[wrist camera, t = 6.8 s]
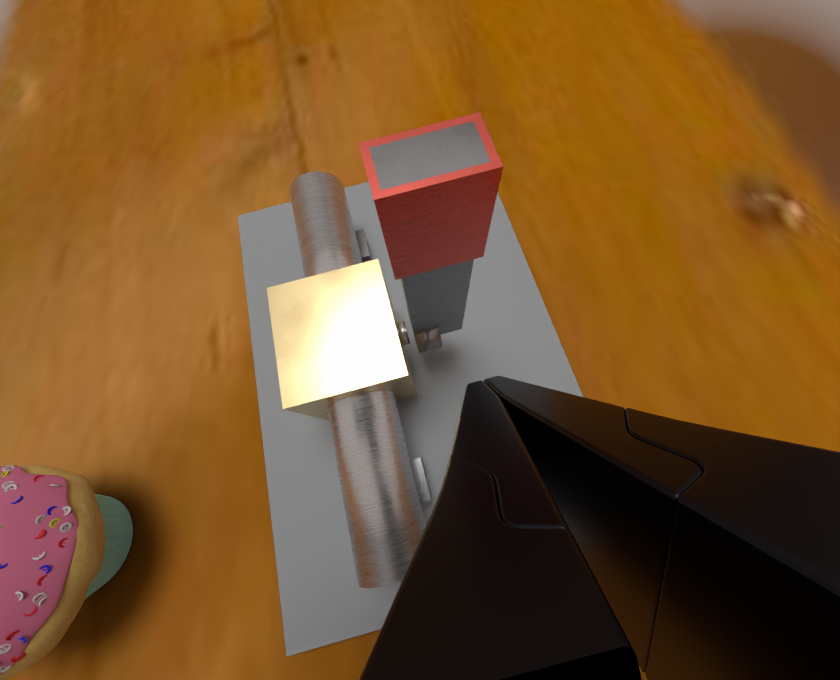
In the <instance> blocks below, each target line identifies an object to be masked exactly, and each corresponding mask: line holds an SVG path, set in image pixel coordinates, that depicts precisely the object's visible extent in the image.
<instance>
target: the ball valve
mask: <svg viewBox="0 0 840 680" xmlns="http://www.w3.org/2000/svg"><path fill="white" fill-rule="evenodd" d="M290 198H291V204H292V209H293V215H294V221H295V227H296V232H297V238H298V244H299V250H300V255H301V261H302V267H303V272H304V278H303V279H299V280H295V281H291V282H287V283H284V284H280V285H276V286H272V287H268V288H267V294H268V302H269V309H270V317H271V324H272V332H273V339H274V347H275V354H276V362H277V369H278V377H279V384H280V392H281V399H282V407H283V409H284V410H288V411H292V412H296V413H300V414H304V415H308V416H312V417H315V418H319V419H323V420H329V421H330V427H331V433H332V439H333V444H334V450H335V456H336V462H337V467H338V473H339V479H340V484H341V490H342V496H343V502H344V507H345V513H346V519H347V525H348V530H349V536H350V542H351V547H352V553H353V559H354V565H355V570H356V576H357V582H358V586H359V587H361V588H378V587H383V586H387V585H391V584H394V583H397V582H400V581H402V579H403V577H404V575H405V573H406V570H407V568H408V566H409V563H410V561H411V559H412V556H413V554H414V552H415V549H416V547H417V545H418V542H419V540H420V538H421V535H422V533H423V531H424V529H425V521H424V517H423V513H422V509H421V505H420V503H423V502H426V501H430V500H431V498H432V494H431V490H430V486H429V482H428V478H427V474H426V470H425V467H424V463H423V459H422V457H419V458H416V459H412V460H410V459H409V455H408V451H407V446H406V442H405V438H404V434H403V430H402V426H401V421H400V417H399V413H398V409H397V405H396V401H400V400H404V399H407V398H411V397H415V396H417V393H416V389H415V385H414V381H413V377H412V374H411V370H410V366H409V362H408V358H407V355H406V351H405V347H404V345H407V344H410V340H409V336H408V333H407V329H406V325H405V322H404V321H402V322H398V320H397V316H396V312H395V309H394V305H393V302H392V299H391V296H390V293H389V290H388V287H387V284H386V281H385V278H384V275H383V272H382V269H381V266H380V263H379V260H378V259H375V260H372V256H371V252H370V248H369V244H368V241H367V238H366V235H365V233H364V230H363V229H360V230H356V231H355V230H354V226H353V222H352V217H351V213H350V209H349V205H348V201H347V197H346V192H345V188H344V186H343V184H342V182H341V181H340V180H339V179H338V178H337V177H335V176H333V175H331V174H329V173H325V172H309V173H306V174H303V175H301V176H299V177H298V178H297V179H295V180H294V182H293V183H292V185H291V187H290Z"/></svg>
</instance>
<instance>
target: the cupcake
mask: <svg viewBox="0 0 840 680" xmlns="http://www.w3.org/2000/svg"><path fill="white" fill-rule="evenodd" d="M132 537H133V524H132V519H131V516H130V513H129V511H128V510H127V508H126V507H125V506H124V504H123V503H121V502H120V501H119V500H117V499H115V498H113V497H110V496H105V495H100V494H95V493H94V492H93V489H92V486H91V484H90V482H89V481H88V479H86V478H85V477H83V476H81V475H78V474H74V473H71V472H67V471H65V470H62V469H58V468H54V467H48V466H40V465H25V466H16V465H8V466H3V467H0V680H5V679H8V678H10V677H13V676H15V675H17V674H19V673H21V672H23V671H24V670H26V669H28V668H30V667H31V666H33V665H34V664H36V663H37V662H39V661H40V660H42V659H43V658H44V657H45V656H46V655H47V654H48V653H49V652H50V651H51V650H52V649H53V648H54V647H55V646H56V645H57V644H58V643H59V642H60V640H61V639H62V638H63V636H64V635H65V633H66V631H67V630H68V628H69V626H70V624H71V623H72V621H73V620H74V618H75V617H76V615H77V614H78V612H79V610H80V609H81V607H82V605H83V602H84V600H85V599H86V598H87V597H88V596H90V595H91V594H92V593H94V592H95V591H96V590H97V589H99V588H100V587H102V586H103V585H104V584H106V583H107V582H108V581H109V580H110V579H111V578H112V577H113V576H114V575H115V574H116V573H117V572H118V570H119V569H120V568H121V566H122V565H123V563H124V561H125V559H126V557H127V555H128V553H129V550H130V547H131V543H132Z"/></svg>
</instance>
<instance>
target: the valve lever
mask: <svg viewBox="0 0 840 680" xmlns="http://www.w3.org/2000/svg"><path fill="white" fill-rule="evenodd" d="M358 144H359V147H360V151H361V155H362V159H363V162H364V166H365V170H366V173H367V177H368V181H369V185H370V188H371V192H372V196H373V199H374V203H375V207H376V210H377V214H378V218H379V222H380V225H381V229H382V233H383V236H384V240H385V244H386V247H387V251H388V255H389V259H390V262H391V266H392V270H393V273H394V277H395V280H397V279H400V280H401V284H402V288H403V292H404V297H405V301H406V305H407V311H408V315H409V318H410V322H411V326H412V330H413V333H414V337H415V341H416V344H417V348H418V351H419V353H422V352H426V351H430V350H433V349H437V348H441V347H442V340H441V335H442V334H445V333H449V332H453V331H456V330H460V329H462V325H463V319H464V314H465V308H466V302H467V296H468V291H469V285H470V279H471V273H472V268H473V262H474V259H476V258H480V257H483V256H484V251H485V247H486V242H487V238H488V233H489V229H490V224H491V220H492V215H493V210H494V206H495V201H496V197H497V192H498V188H499V183H500V179H501V174H502V170H503V165H502V163H501V160H500V158H499V156H498V154H497V151H496V149H495V147H494V144H493V142H492V140H491V138H490V135H489V133H488V131H487V128H486V126H485V124H484V122H483V119H482V117H481V115H480V113H476V114H472V115H468V116H464V117H460V118H456V119H452V120H448V121H444V122H440V123H436V124H432V125H428V126H424V127H421V128H417V129H413V130H409V131H405V132H401V133H397V134H393V135H389V136H385V137H381V138H377V139H373V140H370V141H366V142H362V143H358Z"/></svg>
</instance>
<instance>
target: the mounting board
mask: <svg viewBox="0 0 840 680" xmlns="http://www.w3.org/2000/svg"><path fill="white" fill-rule="evenodd" d="M345 192H346V197H347V201H348V205H349V209H350V213H351V217H352V222H353V226H354V230H355V231H356V230H360V229H363V230H364V233H365V235H366V238H367V241H368V244H369V248H370V252H371V256H372V260H375V259H378V260H379V263H380V266H381V269H382V272H383V275H384V278H385V281H386V284H387V287H388V290H389V293H390V296H391V299H392V302H393V305H394V309H395V312H396V316H397V320H398V322H402V321H404V322H405V325H406V329H407V333H408V336H409V340H410V344H407V345H404V347H405V351H406V355H407V358H408V362H409V366H410V370H411V374H412V377H413V381H414V385H415V389H416V393H417V396H415V397H411V398H407V399H404V400H400V401H396V405H397V409H398V413H399V417H400V421H401V426H402V430H403V434H404V438H405V442H406V446H407V451H408V455H409V459H410V460H412V459H416V458H419V457H422V459H423V463H424V467H425V470H426V474H427V478H428V482H429V486H430V490H431V494H432V498H431V500H430V501H426V502H423V503H420V505H421V509H422V513H423V517H424V521H425V526H426V524H427V522H428V519H429V517H430V515H431V512H432V510H433V507H434V505H435V502H436V500H437V497H438V494H439V492H440V489H441V486H442V482H443V479H444V476H445V472H446V468H447V464H448V460H449V458H450V454H451V450H452V445H453V441H454V437H455V433H456V429H457V425H458V420H459V416H460V412H461V408H462V404H463V399H464V395H465V391H466V387H467V385H468V384H469V383H472V382H476V381H480V380H482V381H484V380H485V379H487V378H490V377H494V376H503V377H507V378H510V379H514V380H518V381H522V382H526V383H530V384H534V385H538V386H542V387H546V388H550V389H554V390H557V391H561V392H565V393H569V394H573V395H577V396H581V397H583V395H582V393H581V390H580V388H579V386H578V383H577V381H576V378H575V376H574V374H573V371H572V369H571V366H570V364H569V362H568V359H567V357H566V355H565V352H564V350H563V347H562V345H561V343H560V340H559V338H558V335H557V333H556V331H555V328H554V326H553V323H552V321H551V319H550V316H549V314H548V312H547V309H546V307H545V304H544V302H543V300H542V297H541V295H540V292H539V290H538V288H537V285H536V283H535V280H534V278H533V276H532V273H531V271H530V269H529V266H528V264H527V261H526V259H525V257H524V254H523V252H522V249H521V247H520V245H519V242H518V240H517V237H516V235H515V233H514V230H513V228H512V225H511V223H510V221H509V218H508V216H507V214H506V211H505V209H504V206H503V204H502V202H501V199H500V197H499V194H498V192H497V197H496V201H495V206H494V210H493V215H492V220H491V224H490V229H489V233H488V238H487V242H486V247H485V251H484V256H483V257H480V258H476V259H474V262H473V268H472V273H471V279H470V285H469V291H468V296H467V302H466V308H465V314H464V319H463V325H462V329H460V330H456V331H453V332H449V333H445V334H442V335H441V340H442V347H441V348H437V349H433V350H430V351H426V352H422V353H419V351H418V348H417V344H416V341H415V337H414V333H413V330H412V326H411V322H410V318H409V315H408V311H407V305H406V301H405V297H404V292H403V288H402V284H401V280H400V279H397V280H395V277H394V273H393V270H392V266H391V262H390V259H389V255H388V251H387V247H386V244H385V240H384V236H383V233H382V229H381V225H380V222H379V218H378V214H377V210H376V207H375V203H374V199H373V196H372V192H371V188H370V185H369V182H366V183H362V184H358V185H355V186H351V187H347V188H345ZM238 222H239V231H240V240H241V249H242V258H243V267H244V276H245V285H246V294H247V303H248V312H249V321H250V330H251V339H252V348H253V357H254V366H255V375H256V384H257V393H258V402H259V411H260V421H261V430H262V439H263V448H264V457H265V466H266V475H267V484H268V493H269V502H270V511H271V520H272V529H273V538H274V547H275V556H276V565H277V574H278V583H279V592H280V601H281V610H282V619H283V628H284V637H285V646H286V655H287V656H291V655H294V654H297V653H301V652H304V651H308V650H311V649H315V648H318V647H321V646H325V645H328V644H332V643H335V642H339V641H342V640H345V639H349V638H352V637H356V636H359V635H363V634H366V633H370V632H373V631H376V630H380V629H381V628H382V626H383V623H384V621H385V619H386V616H387V614H388V612H389V610H390V607H391V605H392V603H393V600H394V598H395V596H396V593H397V591H398V589H399V586H400V584H401V582H402V581H400V582H397V583H394V584H391V585H387V586H383V587H378V588H361V587H359V586H358V582H357V576H356V570H355V565H354V559H353V553H352V547H351V542H350V536H349V530H348V525H347V519H346V513H345V507H344V502H343V496H342V490H341V484H340V479H339V473H338V467H337V462H336V456H335V450H334V444H333V439H332V433H331V427H330V421H329V420H323V419H319V418H315V417H312V416H308V415H304V414H300V413H296V412H292V411H288V410H284V409H283V407H282V399H281V392H280V384H279V377H278V369H277V362H276V354H275V347H274V339H273V332H272V324H271V317H270V309H269V302H268V294H267V288H268V287H272V286H276V285H280V284H284V283H287V282H291V281H295V280H299V279H303V278H304V272H303V267H302V261H301V255H300V250H299V244H298V238H297V232H296V227H295V221H294V215H293V209H292V204H291V202H289V203H285V204H281V205H277V206H273V207H269V208H265V209H262V210H258V211H254V212H250V213H246V214H242V215H238Z"/></svg>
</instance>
